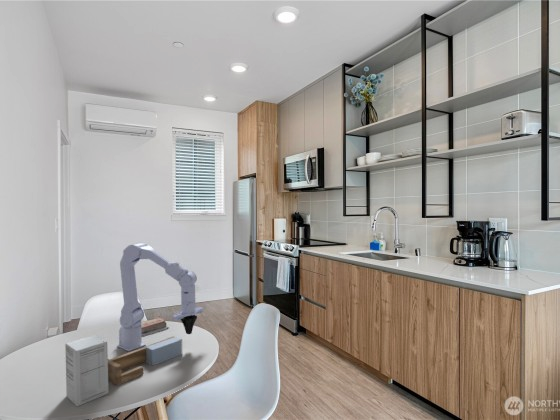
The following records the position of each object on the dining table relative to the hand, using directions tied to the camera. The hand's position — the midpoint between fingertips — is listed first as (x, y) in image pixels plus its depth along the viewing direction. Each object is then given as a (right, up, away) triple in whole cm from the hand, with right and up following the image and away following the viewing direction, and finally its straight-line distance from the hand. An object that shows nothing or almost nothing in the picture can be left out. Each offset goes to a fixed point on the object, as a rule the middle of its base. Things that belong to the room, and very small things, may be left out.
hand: (188, 333), depth 142 cm
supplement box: (-22, -7, -36) cm, 43 cm away
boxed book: (-7, -6, -9) cm, 13 cm away
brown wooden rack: (-11, -6, -15) cm, 20 cm away
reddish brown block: (-26, -7, +20) cm, 33 cm away
